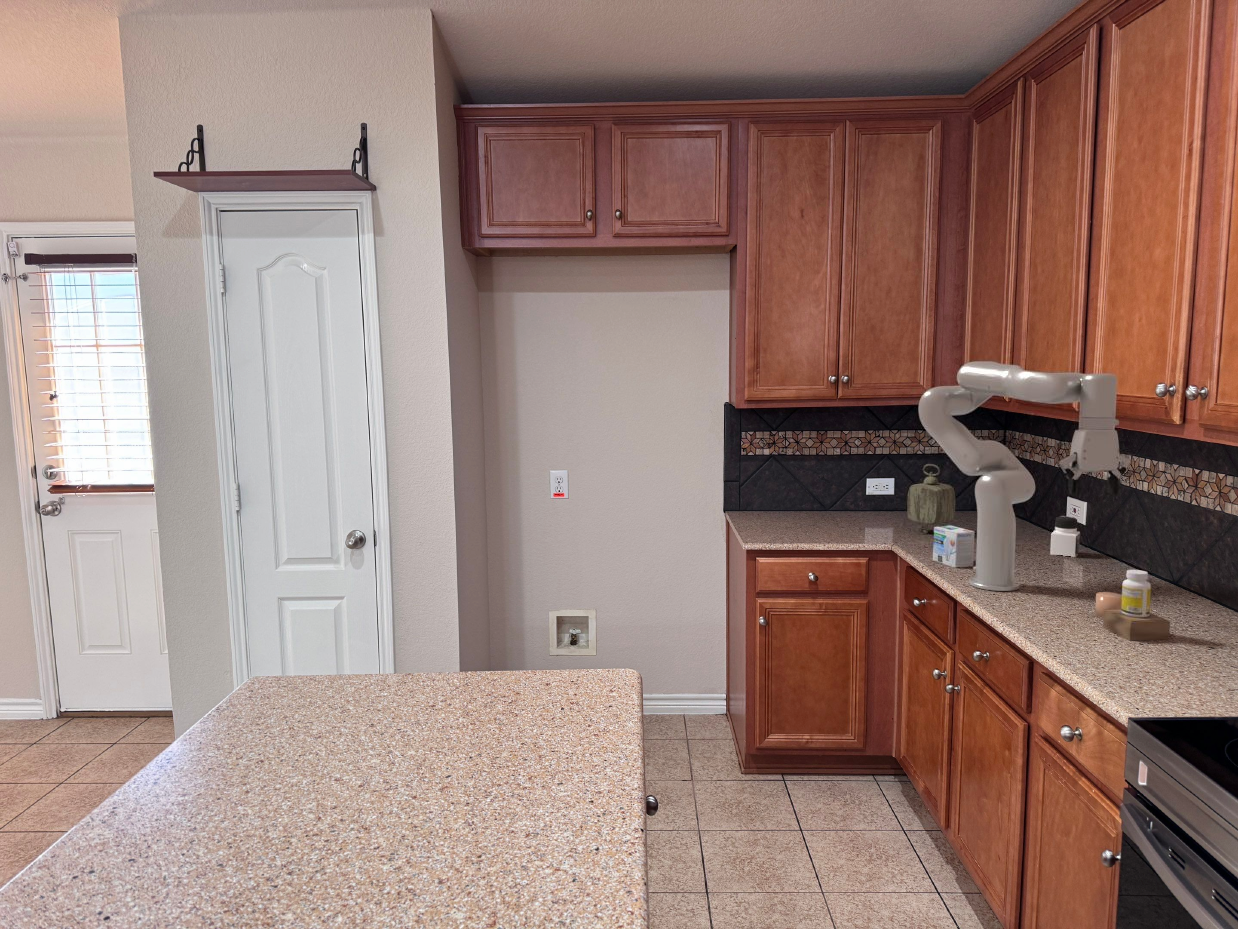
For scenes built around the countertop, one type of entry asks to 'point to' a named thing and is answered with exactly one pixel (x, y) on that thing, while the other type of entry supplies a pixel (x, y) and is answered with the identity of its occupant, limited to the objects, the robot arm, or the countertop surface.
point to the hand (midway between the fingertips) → (1093, 494)
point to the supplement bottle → (1136, 594)
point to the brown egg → (1107, 602)
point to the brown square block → (1136, 626)
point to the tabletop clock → (931, 502)
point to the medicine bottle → (1065, 537)
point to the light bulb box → (953, 546)
